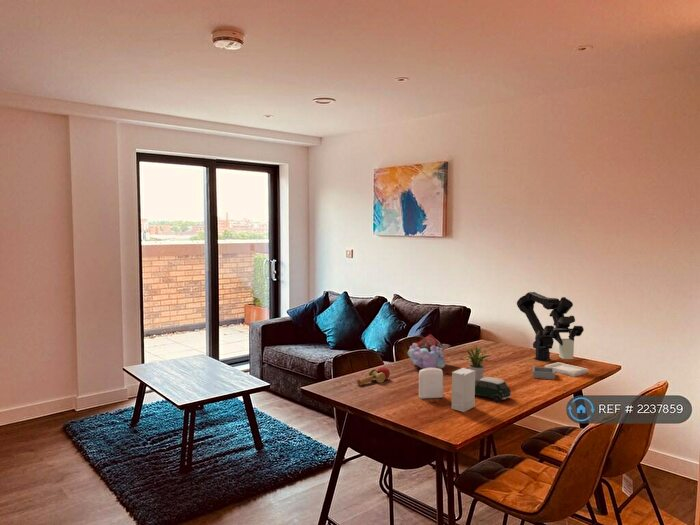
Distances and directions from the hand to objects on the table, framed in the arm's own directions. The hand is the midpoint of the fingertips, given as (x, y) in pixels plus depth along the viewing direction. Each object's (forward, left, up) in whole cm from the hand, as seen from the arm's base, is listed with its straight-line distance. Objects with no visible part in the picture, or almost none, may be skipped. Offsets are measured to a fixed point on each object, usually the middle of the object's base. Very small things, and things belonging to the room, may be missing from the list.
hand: (567, 345), depth 249 cm
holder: (-2, -16, -13) cm, 21 cm away
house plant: (-16, -48, -14) cm, 53 cm away
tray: (-1, +1, -13) cm, 13 cm away
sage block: (-1, +1, -7) cm, 7 cm away
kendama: (-40, -90, -14) cm, 99 cm away
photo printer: (-9, -83, -14) cm, 85 cm away
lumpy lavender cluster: (-46, -50, -14) cm, 69 cm away
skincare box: (+8, -82, -14) cm, 84 cm away
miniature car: (+3, -62, -14) cm, 64 cm away
